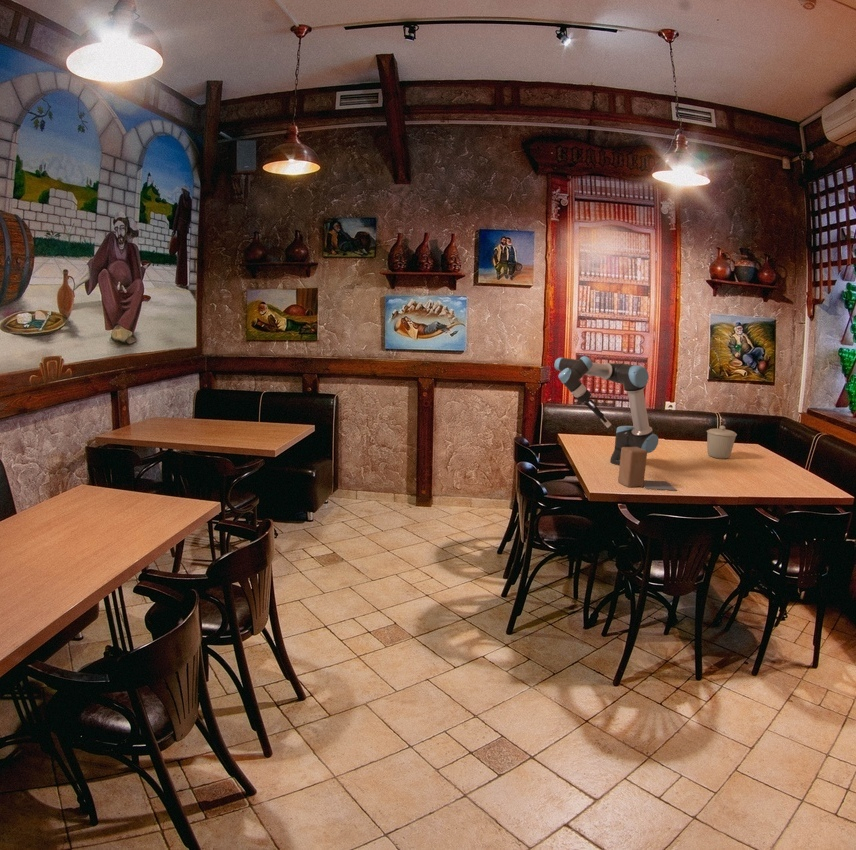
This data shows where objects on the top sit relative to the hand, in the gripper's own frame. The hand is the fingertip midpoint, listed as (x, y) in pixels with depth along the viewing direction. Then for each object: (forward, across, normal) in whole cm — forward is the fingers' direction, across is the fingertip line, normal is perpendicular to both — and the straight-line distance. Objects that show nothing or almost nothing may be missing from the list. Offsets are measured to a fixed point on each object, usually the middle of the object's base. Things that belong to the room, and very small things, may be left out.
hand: (609, 426), depth 324 cm
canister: (+88, -71, +46) cm, 122 cm away
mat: (+41, +4, -2) cm, 41 cm away
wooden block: (+32, +4, -12) cm, 34 cm away
